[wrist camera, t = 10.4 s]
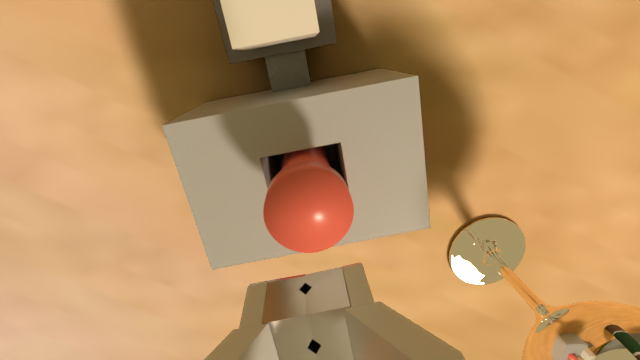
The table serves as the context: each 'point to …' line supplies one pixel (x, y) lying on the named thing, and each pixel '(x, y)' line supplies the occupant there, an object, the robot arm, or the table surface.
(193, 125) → the grey holed block
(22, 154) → the table surface
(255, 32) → the cream box
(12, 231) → the table surface
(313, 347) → the robot arm
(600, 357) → the wineglass
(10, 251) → the table surface
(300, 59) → the rail
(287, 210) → the plunger
